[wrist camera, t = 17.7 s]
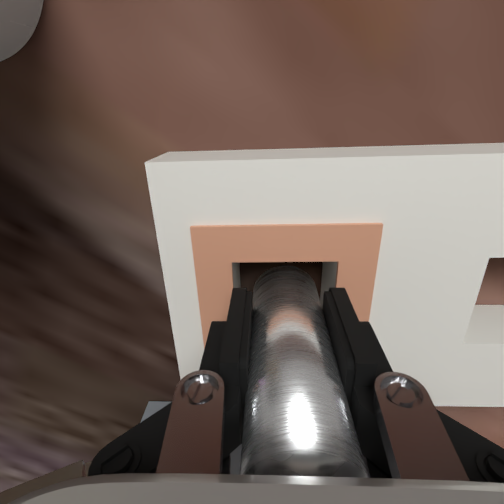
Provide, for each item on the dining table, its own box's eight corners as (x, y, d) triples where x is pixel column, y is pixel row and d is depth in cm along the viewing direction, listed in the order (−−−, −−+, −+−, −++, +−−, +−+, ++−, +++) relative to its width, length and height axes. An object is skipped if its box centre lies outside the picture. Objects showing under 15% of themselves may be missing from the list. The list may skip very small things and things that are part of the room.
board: (544, 362, 18) (598, 411, 15) (196, 360, 19) (183, 406, 16) (647, 138, 13) (758, 147, 10) (168, 151, 14) (142, 163, 11)
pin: (314, 319, 14) (363, 532, 7) (253, 319, 15) (241, 528, 7) (318, 264, 13) (380, 454, 6) (252, 265, 13) (235, 450, 6)
